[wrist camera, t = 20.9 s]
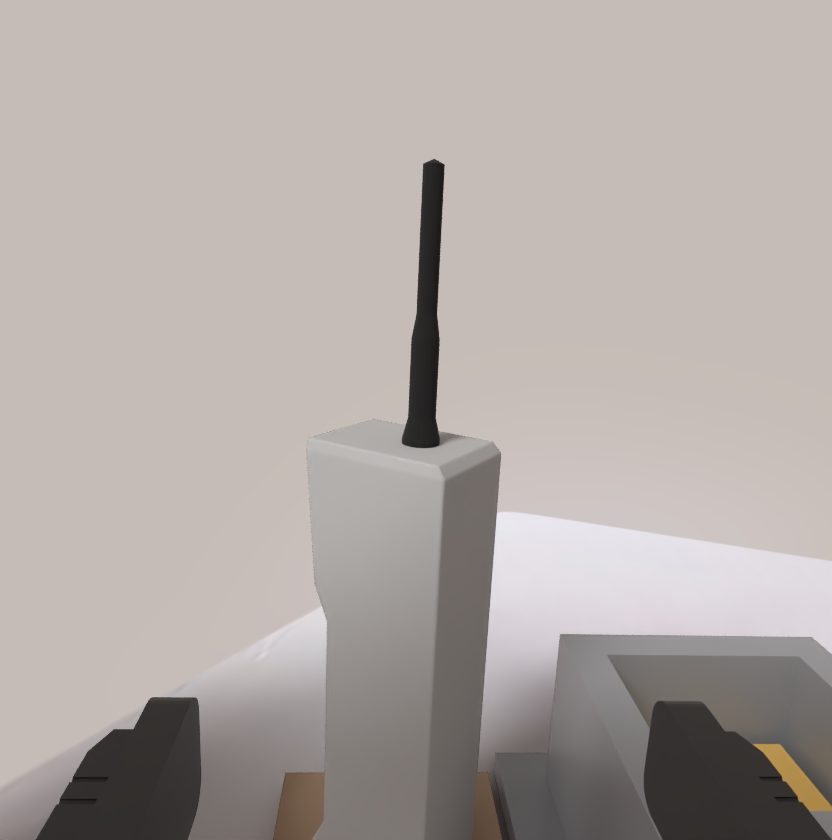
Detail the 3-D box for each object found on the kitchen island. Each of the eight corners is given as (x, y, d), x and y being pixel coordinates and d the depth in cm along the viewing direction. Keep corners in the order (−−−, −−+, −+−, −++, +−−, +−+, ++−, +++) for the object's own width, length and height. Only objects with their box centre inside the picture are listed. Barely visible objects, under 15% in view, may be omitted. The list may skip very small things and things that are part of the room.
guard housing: (580, 1154, 18) (613, 910, 16) (493, 771, 32) (506, 615, 30) (1106, 1134, 19) (1192, 902, 17) (803, 771, 33) (833, 619, 31)
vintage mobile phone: (362, 815, 28) (382, 171, 22) (470, 875, 25) (523, 166, 20) (300, 882, 25) (306, 153, 19) (417, 958, 22) (463, 144, 17)
